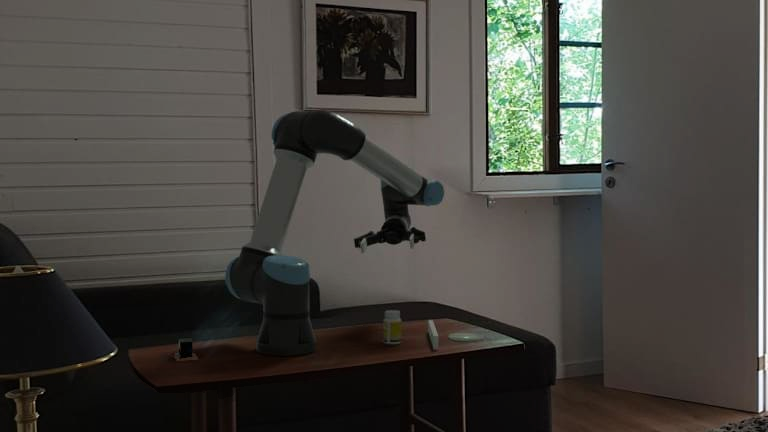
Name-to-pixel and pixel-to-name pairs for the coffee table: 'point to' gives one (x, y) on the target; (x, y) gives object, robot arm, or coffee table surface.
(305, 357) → the coffee table surface
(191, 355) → the black block
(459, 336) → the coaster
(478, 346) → the coffee table surface
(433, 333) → the low wall
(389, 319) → the supplement bottle
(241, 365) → the coffee table surface
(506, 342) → the coffee table surface
